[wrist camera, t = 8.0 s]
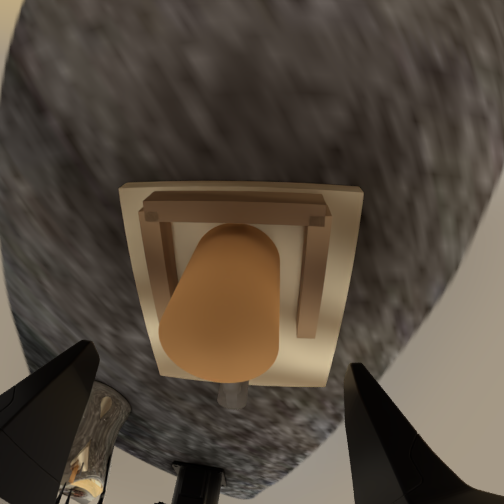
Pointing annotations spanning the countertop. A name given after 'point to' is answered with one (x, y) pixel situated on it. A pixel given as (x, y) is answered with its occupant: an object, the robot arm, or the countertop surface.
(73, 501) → the silver tall piece
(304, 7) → the countertop surface
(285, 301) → the hook board
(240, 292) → the orange rounded capsule
